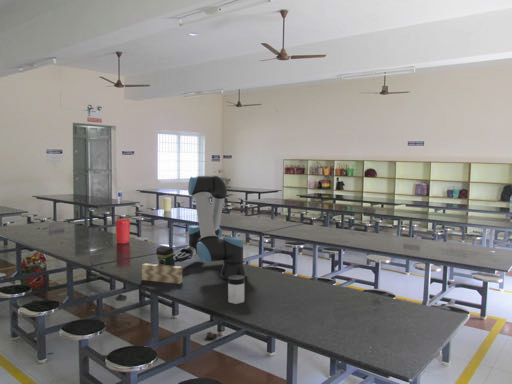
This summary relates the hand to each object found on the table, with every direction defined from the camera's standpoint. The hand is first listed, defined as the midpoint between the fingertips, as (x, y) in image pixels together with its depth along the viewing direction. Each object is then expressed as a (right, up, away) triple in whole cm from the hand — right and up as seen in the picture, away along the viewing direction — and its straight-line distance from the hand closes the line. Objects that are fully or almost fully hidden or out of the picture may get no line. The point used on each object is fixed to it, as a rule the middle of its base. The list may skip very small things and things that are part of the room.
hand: (168, 262), depth 242 cm
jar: (+42, -12, -40) cm, 59 cm away
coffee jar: (0, -8, -2) cm, 8 cm away
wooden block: (-2, -9, -9) cm, 13 cm away
